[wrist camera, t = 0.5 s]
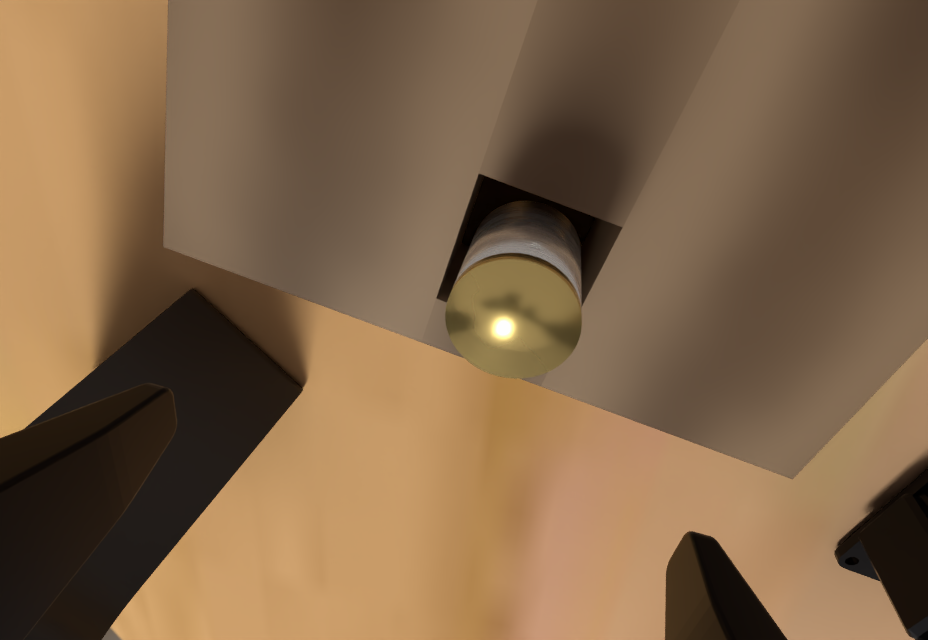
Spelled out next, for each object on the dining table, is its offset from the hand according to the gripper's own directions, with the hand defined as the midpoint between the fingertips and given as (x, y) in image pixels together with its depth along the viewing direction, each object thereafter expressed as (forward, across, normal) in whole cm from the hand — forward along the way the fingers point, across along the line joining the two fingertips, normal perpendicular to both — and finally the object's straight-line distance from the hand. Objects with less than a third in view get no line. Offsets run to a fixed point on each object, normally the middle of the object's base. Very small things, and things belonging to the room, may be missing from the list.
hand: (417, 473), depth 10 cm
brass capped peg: (+8, -1, -1) cm, 8 cm away
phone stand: (+11, +12, +10) cm, 19 cm away
